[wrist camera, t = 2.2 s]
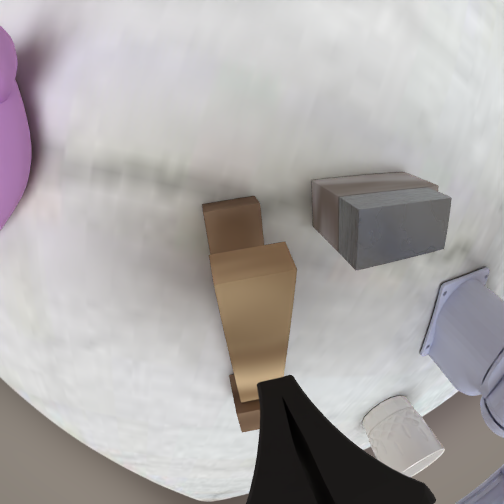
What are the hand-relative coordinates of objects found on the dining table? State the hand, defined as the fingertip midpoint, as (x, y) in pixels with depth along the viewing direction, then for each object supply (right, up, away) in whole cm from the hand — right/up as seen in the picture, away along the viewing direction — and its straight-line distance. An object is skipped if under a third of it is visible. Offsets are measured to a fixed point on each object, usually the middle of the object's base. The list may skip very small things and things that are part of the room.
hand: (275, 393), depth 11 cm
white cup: (+16, -15, +22) cm, 31 cm away
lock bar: (+6, +7, +4) cm, 11 cm away
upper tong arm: (-1, +1, +6) cm, 6 cm away
